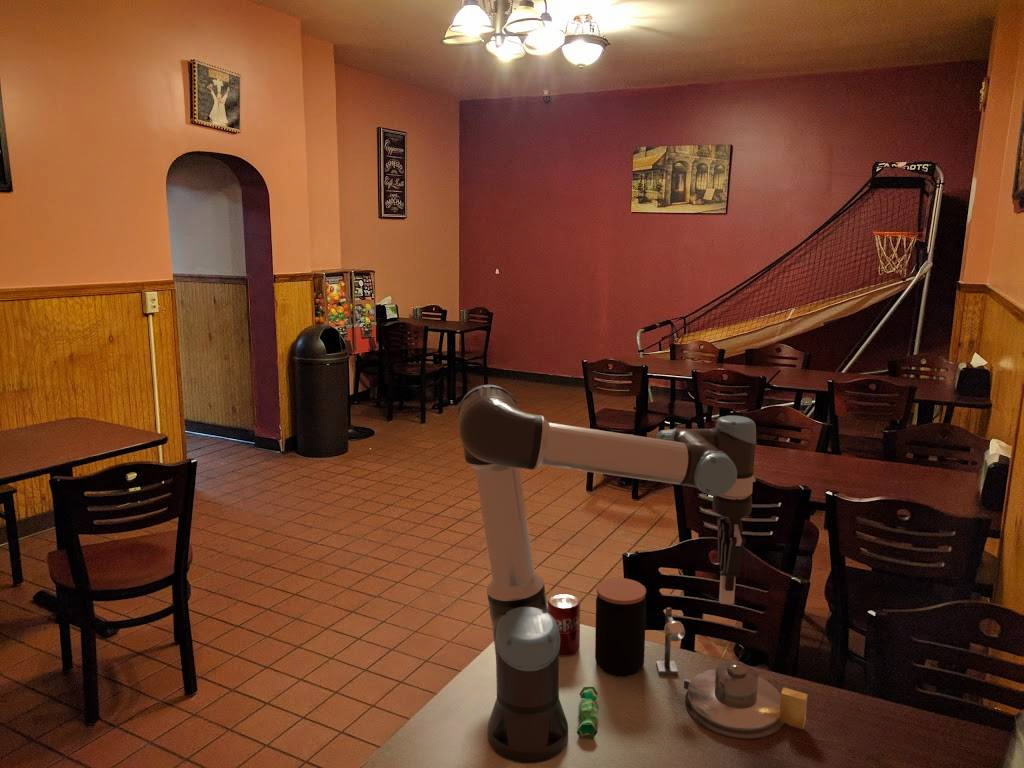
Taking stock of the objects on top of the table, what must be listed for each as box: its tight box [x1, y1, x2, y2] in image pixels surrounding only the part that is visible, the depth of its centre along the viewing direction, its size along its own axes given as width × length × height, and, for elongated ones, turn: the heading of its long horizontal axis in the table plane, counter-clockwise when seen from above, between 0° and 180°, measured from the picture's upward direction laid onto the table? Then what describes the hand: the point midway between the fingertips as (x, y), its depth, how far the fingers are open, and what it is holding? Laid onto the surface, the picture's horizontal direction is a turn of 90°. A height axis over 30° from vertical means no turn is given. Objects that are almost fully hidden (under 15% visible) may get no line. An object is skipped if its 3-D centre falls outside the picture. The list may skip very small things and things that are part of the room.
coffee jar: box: [594, 577, 647, 678], centre depth 161 cm, size 11×11×18 cm
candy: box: [576, 686, 599, 740], centre depth 144 cm, size 12×3×4 cm
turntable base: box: [684, 690, 785, 741], centre depth 147 cm, size 19×19×1 cm
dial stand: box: [655, 606, 686, 677], centre depth 156 cm, size 4×9×15 cm, turn 178°
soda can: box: [547, 593, 581, 658], centre depth 167 cm, size 7×7×12 cm
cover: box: [715, 660, 759, 709], centre depth 145 cm, size 8×8×7 cm
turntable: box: [683, 668, 809, 733], centre depth 146 cm, size 21×18×6 cm
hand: (726, 602), depth 152 cm, fingers closed
